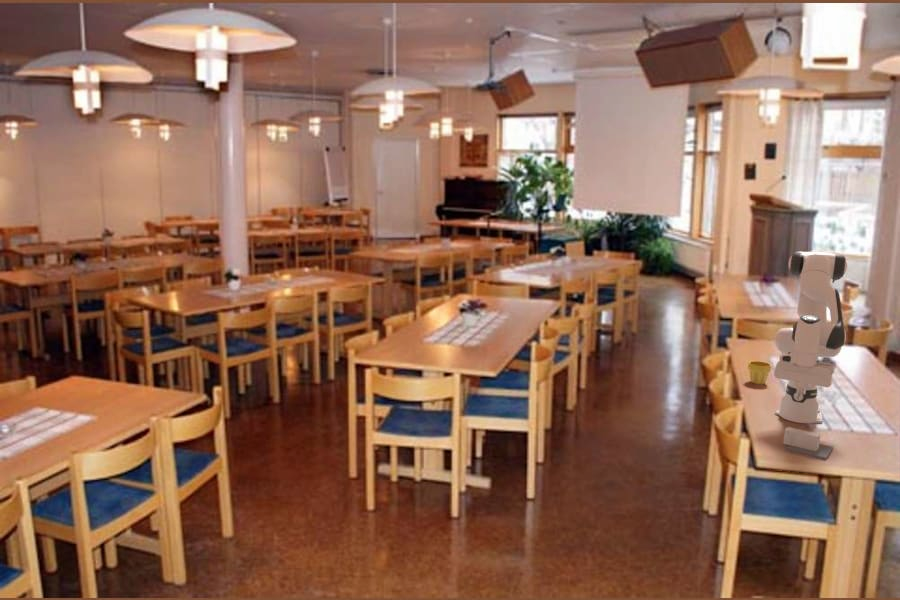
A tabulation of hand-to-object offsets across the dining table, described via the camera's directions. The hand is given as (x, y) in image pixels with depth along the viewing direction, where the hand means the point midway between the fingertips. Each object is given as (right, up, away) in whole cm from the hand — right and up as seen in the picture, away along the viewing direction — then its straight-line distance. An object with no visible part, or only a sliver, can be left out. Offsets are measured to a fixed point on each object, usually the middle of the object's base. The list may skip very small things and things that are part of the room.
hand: (800, 393), depth 299 cm
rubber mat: (+4, -22, +1) cm, 22 cm away
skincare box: (-4, -17, +5) cm, 18 cm away
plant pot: (+18, -5, +89) cm, 91 cm away
